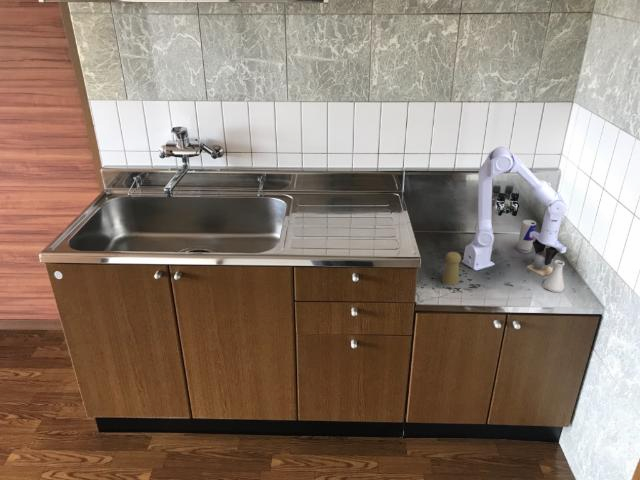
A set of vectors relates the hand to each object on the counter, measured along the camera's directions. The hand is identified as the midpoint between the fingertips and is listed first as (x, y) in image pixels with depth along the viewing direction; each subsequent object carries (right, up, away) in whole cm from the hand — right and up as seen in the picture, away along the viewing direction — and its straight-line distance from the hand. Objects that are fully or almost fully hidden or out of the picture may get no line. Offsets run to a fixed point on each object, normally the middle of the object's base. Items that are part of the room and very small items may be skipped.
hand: (542, 261), depth 189 cm
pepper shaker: (-35, -7, -5) cm, 36 cm away
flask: (0, -9, -9) cm, 13 cm away
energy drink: (-1, +4, +15) cm, 16 cm away
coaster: (0, -3, +1) cm, 3 cm away
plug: (0, -1, +1) cm, 2 cm away
